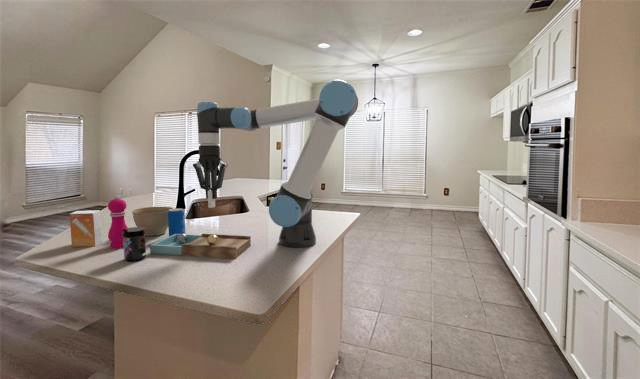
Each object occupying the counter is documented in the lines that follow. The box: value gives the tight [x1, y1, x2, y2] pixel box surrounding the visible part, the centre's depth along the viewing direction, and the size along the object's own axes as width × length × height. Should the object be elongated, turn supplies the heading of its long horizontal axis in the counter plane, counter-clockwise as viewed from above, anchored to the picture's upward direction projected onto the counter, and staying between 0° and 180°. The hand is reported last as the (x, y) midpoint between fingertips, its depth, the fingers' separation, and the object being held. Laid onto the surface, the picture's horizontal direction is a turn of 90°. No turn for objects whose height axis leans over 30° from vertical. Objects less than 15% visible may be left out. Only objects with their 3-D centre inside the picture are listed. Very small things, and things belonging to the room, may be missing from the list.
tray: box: [149, 233, 202, 257], centre depth 125 cm, size 12×16×3 cm
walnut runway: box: [182, 233, 252, 260], centre depth 122 cm, size 20×15×4 cm
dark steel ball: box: [177, 233, 188, 244], centre depth 129 cm, size 4×4×4 cm
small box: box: [69, 209, 103, 248], centre depth 127 cm, size 8×6×13 cm
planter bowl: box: [131, 206, 174, 237], centre depth 144 cm, size 16×16×11 cm
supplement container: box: [122, 226, 147, 263], centre depth 112 cm, size 7×7×10 cm
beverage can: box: [168, 207, 186, 237], centre depth 139 cm, size 6×6×12 cm
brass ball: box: [207, 235, 219, 246], centre depth 118 cm, size 4×4×4 cm
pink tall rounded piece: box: [107, 194, 129, 250], centre depth 125 cm, size 7×7×20 cm
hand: (211, 207), depth 125 cm, fingers closed
